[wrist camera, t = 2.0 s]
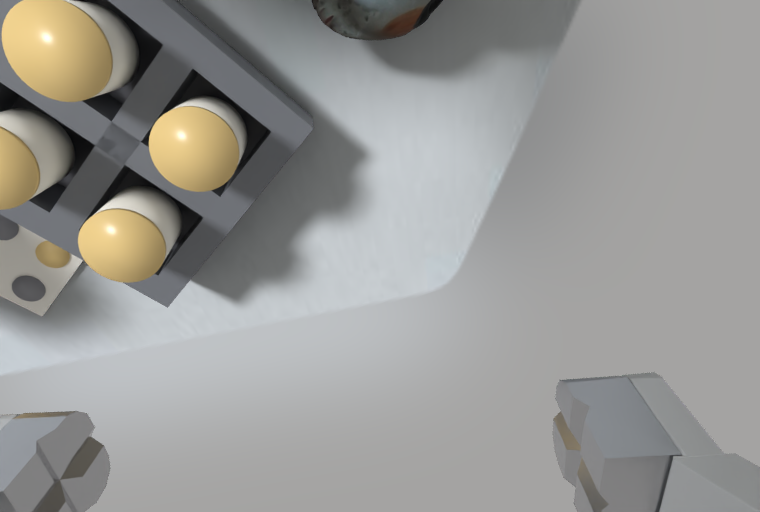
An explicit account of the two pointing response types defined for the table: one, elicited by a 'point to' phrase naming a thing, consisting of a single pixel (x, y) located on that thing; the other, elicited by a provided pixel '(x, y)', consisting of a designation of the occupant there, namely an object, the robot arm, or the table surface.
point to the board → (132, 131)
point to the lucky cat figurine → (374, 16)
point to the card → (32, 267)
